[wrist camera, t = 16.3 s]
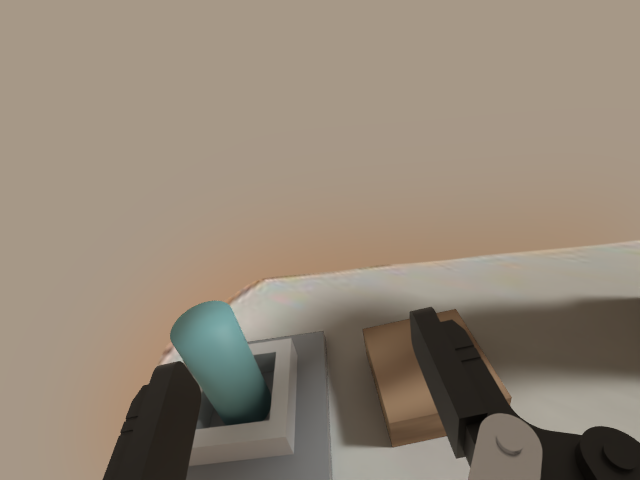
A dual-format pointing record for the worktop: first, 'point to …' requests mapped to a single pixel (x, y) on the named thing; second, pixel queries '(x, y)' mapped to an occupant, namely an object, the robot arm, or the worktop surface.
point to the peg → (222, 362)
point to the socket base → (273, 420)
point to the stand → (408, 381)
